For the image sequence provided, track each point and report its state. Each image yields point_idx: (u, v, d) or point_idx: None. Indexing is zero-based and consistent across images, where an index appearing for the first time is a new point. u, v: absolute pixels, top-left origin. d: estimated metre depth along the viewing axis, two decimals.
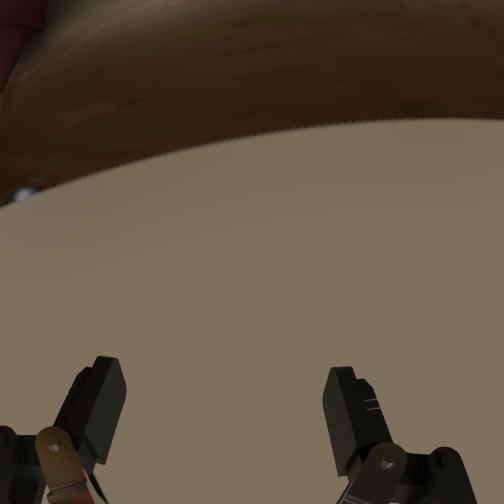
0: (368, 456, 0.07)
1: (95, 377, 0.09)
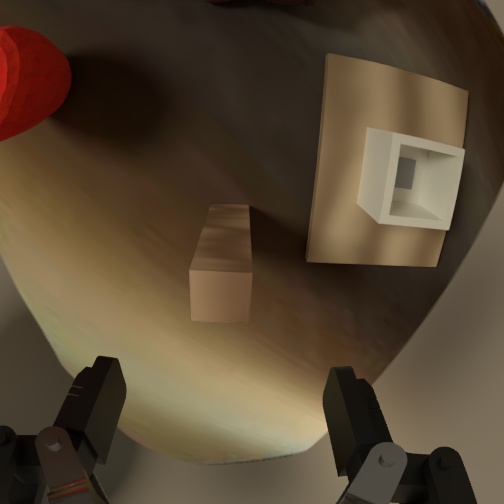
0: (368, 456, 0.07)
1: (95, 377, 0.09)
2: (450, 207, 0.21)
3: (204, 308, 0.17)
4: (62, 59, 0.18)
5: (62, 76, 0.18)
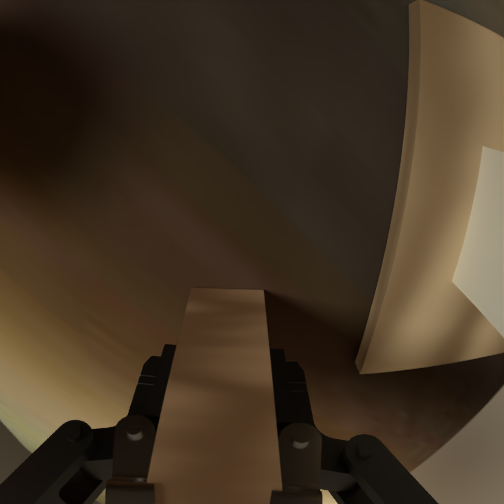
0: (280, 434, 0.08)
1: (167, 364, 0.10)
2: None
3: None
4: None
5: None
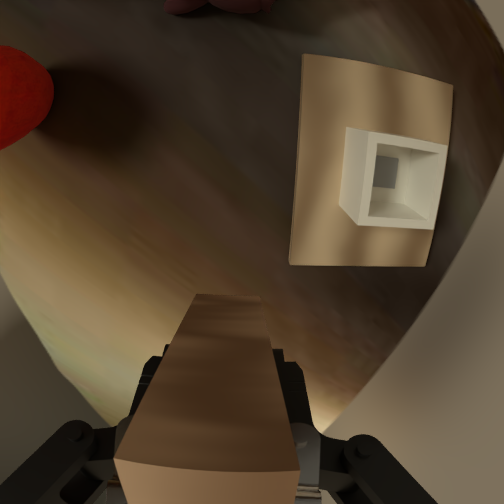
0: None
1: None
2: (433, 206, 0.21)
3: None
4: (42, 74, 0.18)
5: (42, 90, 0.18)
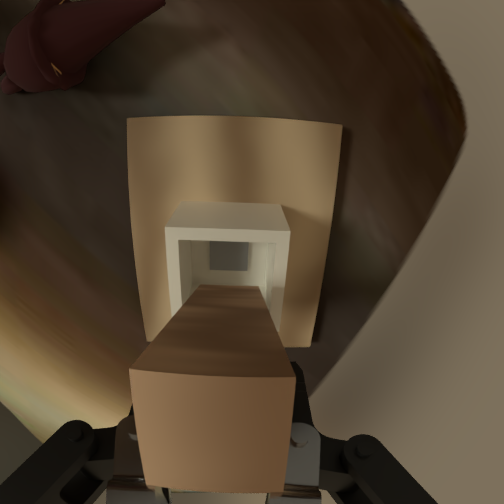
0: None
1: None
2: (275, 306, 0.19)
3: (173, 463, 0.06)
4: None
5: None
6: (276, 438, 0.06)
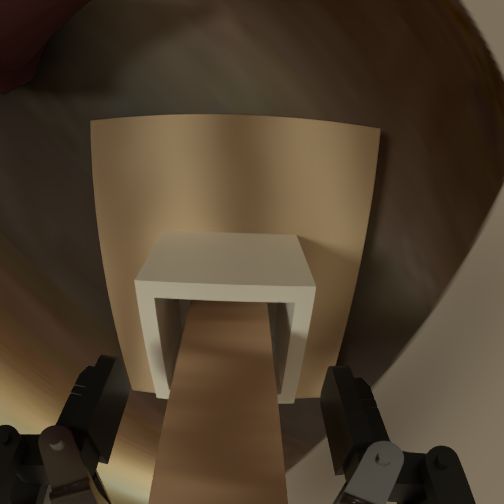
0: (365, 455, 0.07)
1: (98, 376, 0.09)
2: (290, 377, 0.13)
3: None
4: None
5: None
6: None
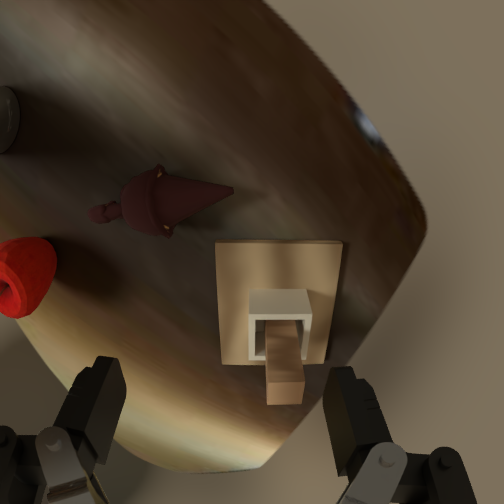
0: (368, 456, 0.07)
1: (95, 377, 0.09)
2: (304, 348, 0.35)
3: (275, 398, 0.27)
4: (46, 258, 0.32)
5: (50, 271, 0.33)
6: (300, 392, 0.27)
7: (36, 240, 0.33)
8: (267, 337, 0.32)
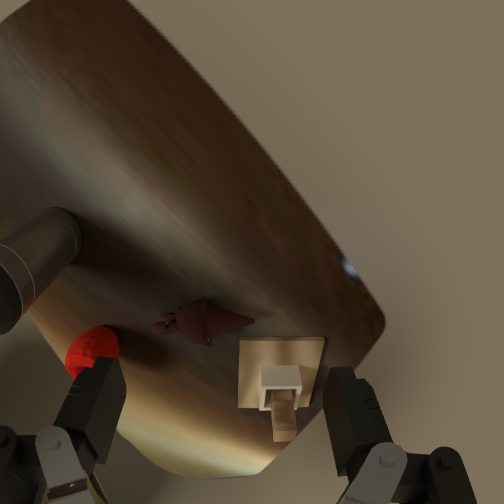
0: (368, 456, 0.07)
1: (95, 377, 0.09)
2: (295, 403, 0.51)
3: (279, 438, 0.43)
4: (115, 347, 0.48)
5: (118, 355, 0.48)
6: (293, 435, 0.43)
7: (104, 332, 0.48)
8: (273, 400, 0.48)
